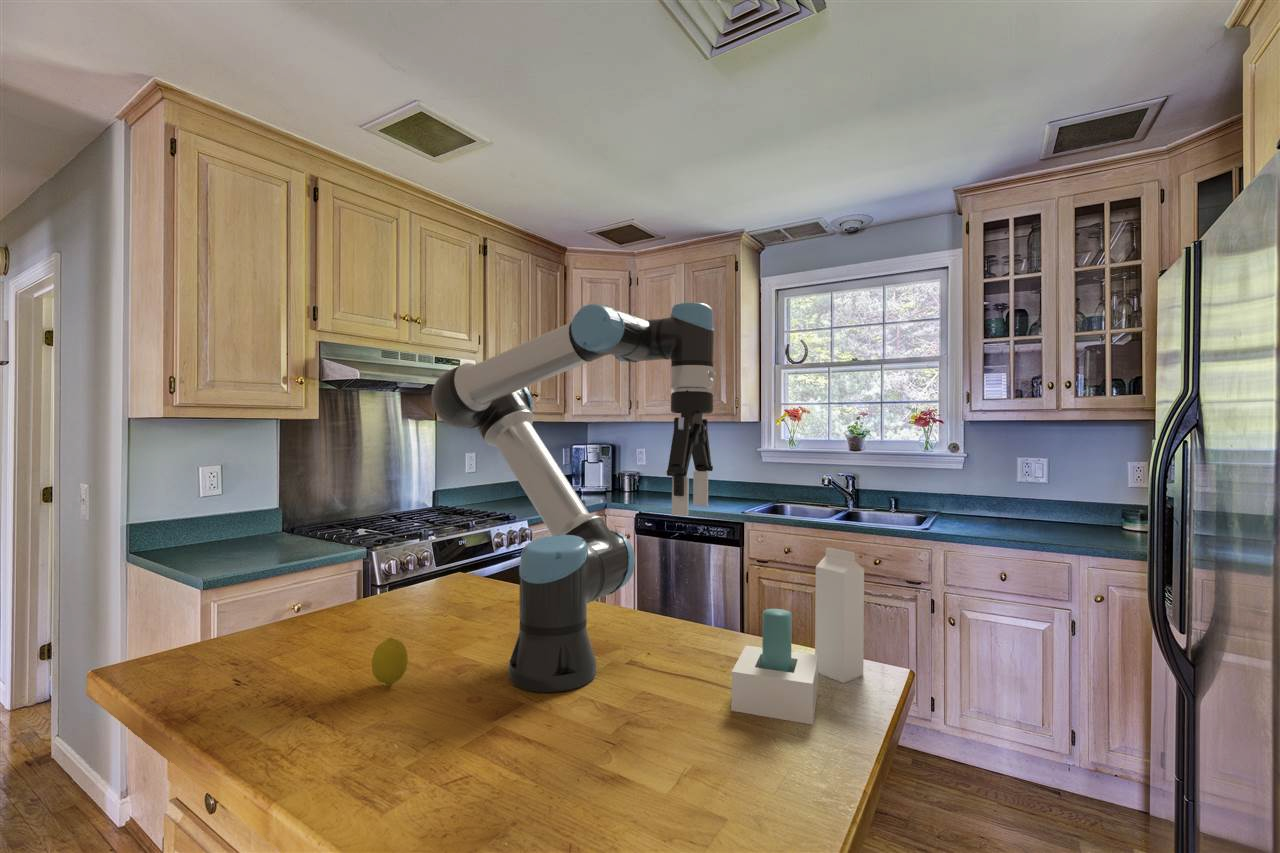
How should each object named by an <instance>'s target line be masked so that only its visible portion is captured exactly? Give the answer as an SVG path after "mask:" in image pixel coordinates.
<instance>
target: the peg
mask: <svg viewBox="0 0 1280 853" xmlns="http://www.w3.org/2000/svg"><path fill="white" fill-rule="evenodd" d="M792 619H793V617H792V612H790V611H788V610H786V609H782V608H781V609H780V608H766V609H764V610H763V611H762V643H761V644H762V647H761V648H762V668H763V669H770V670H777V671H784V672H791V652H792V627H793V626H792V623H793V622H792Z"/></svg>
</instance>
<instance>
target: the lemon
mask: <svg viewBox="0 0 1280 853" xmlns="http://www.w3.org/2000/svg"><path fill="white" fill-rule="evenodd" d="M408 661H409V660H408V651H407V648H406V646H405V645H404V643H403V642H402V641H401V640H398V639H396V638H393V637H388V638H386V639H385V640H383V641H382V642H381V643H379V644H378V645H377V646H376V648H375V649H374V652H373V654H372V658H371V671H372V675H373V676H374V678H375V680H377V681H378V682H379V683H382V684H385V685H386V686H387V687H391V686H393V684H394V683H395V682H396V683H397V681H399V680H400V679H401V678H403V676H404V674H406V671H407V669H408V668H407V667H408V663H409V662H408Z"/></svg>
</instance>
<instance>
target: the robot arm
mask: <svg viewBox="0 0 1280 853" xmlns="http://www.w3.org/2000/svg"><path fill="white" fill-rule="evenodd" d="M714 333H715V326H714V311H713V308H712V307H711V306H710V305H708V304H707V303H704V302H692V301H691V302H681V303H678V304H674V305H673V306H672V308H671V312H670V317H669V316H668V317H666V318H656V319H654V318H653V319H644V318H640V317H638V316H634V315H632V314H628V313H626V312H623V311H620V310H618V309H614V308H613V307H611V306H608V305H601V304H597V303H596V304H595V303H592V304H589V303H588V304H586V305H584V306H582V307H580V308H579V310H578V311H577V313H575V315H574V316H573V318H572V321H571V322H569V323H568V322H567V324H564V325H562V326H560V327H557V328H555V329H552V330H550V331H548V332H546V333H544V334H541V335H539V336H537V337H534V338H533V339H531V340H528V341H526V342H524V343H521V344H519V345H517V346H514V347H513V348H509V349H508V350H505V351H503V352H501V353H498V354H497V355H494V356H492V357H489V358H486V359H485V360H482V361H481V362H478V363H475V364H474V363H473V362H472V363H471V362H466V363H462V364H460V365H459V366H456V367H453V368H451V369H450V370H448V371H446V372H445V373H443V374H442V375H440V376H439V378H438V379H437V380H436V382H435V383H434V384H433V388H432V390H431V396H430V397H431V405H432V408H433V410H434V412H435V414H436V415H437V416H438V418H439V419H440V420H442V421H443V423H446V424H448V425H449V426H452V427H453V428H454V427H455V428H458V429H461V428H462V429H475V430H478V432H479V434H480V435H481V437H482V439H483V440H484V442H485V443H486V444H487V445H488V446H490V447H491V446H492V447H497V449H498V450H499V453H500V454H501V456H502V457H503V459H504V460H505V462H506V464H507V465H508V467H509V469H510V470H511V472H512V473H513V475H514V476H515V478H516V480H517V481H518V482H519V484H520V486H521V489H523V491H524V493H525V494H526V497H528V499H529V500H530V502H531V504H532V505H533V507H534V508H535V510H536V512H537V513H538V515H539V517H540V518H541V520H542V521H543V523H544V526H546V529H547V530H548V531H549V533H550V534H551V536H544V537H540V538H537V539H534V540H532V541H530V542H529V543H527V544H526V545H525V546H524V547H523V548H522V550H521V553H520V562H519V566H518V574H519V632H518V636H517V638H516V642H515V644H514V648H513V650H512V653H511V656H510V660H509V663H508V679H509V682H510V683H511V684H512V685H513V686H515V687H517V688H519V689H522V690H525V691H529V692H534V693H535V692H536V693H559V692H565V691H571V690H574V689H578V688H581V687H583V686H585V685H587V684H589V683H590V682H591V681H593V680H594V679H595V677H596V674H597V661H596V660H597V659H596V655H595V653H594V650H593V647H592V643H591V639H590V636H589V633H588V629H587V613H588V612H587V609H588V608H587V605H588V604H589V603H591V602H593V601H595V600H597V599H601V598H603V597H605V596H608V595H613V594H614V593H616V592H617V591H618V590H619V589H621V588H623V587H624V586H625V585H627V584H628V582H629V581H630V580H631V578H632V576H633V573H634V570H635V563H636V556H635V551H634V548H633V546H632V543H631V542H630V540H629V539H628V538H627V537H626V536H625V534H622V533H620V532H618V531H615V530H610V529H609V527H608V526H607V523H605V521H604V520H603V518H602V517H601V516H600V515H595V514H591V513H590V512H589V511H588V509H587V508H586V506H585V504H584V503H583V502H582V500H581V498H580V497H579V496H578V495H579V494H577V492H576V491H575V489H574V487H573V486H572V484H571V483H570V482H569V480H568V478H567V477H566V475H565V474H564V472H563V471H562V469H561V468H560V466H559V465H558V463H557V461H556V460H555V459H554V458H555V457H553V455H552V454H551V452H550V451H549V449H548V448H547V446H546V444H545V443H544V441H543V440H542V439H541V437H540V436H539V434H538V432H537V431H536V429H535V428H534V426H533V422H534V419H535V416H534V413H533V409H534V408H533V407H534V406H532V404H533V398H532V395H531V392H530V390H529V389H528V387H530V386H533V385H535V384H538V383H540V382H543V381H545V380H547V379H551V378H552V377H555V376H557V375H560V374H562V373H565V372H567V371H570V370H573V369H575V368H577V367H579V366H582V365H585V364H587V363H589V362H593V361H596V360H598V359H600V358H602V357H606V356H609V355H611V356H614V358H615V360H617V361H619V362H628V363H629V362H631V363H638V362H647V361H659V360H660V361H661V360H670V365H671V366H670V389H672V390H673V392H671V394H670V411H671V413H673V414H680V417H674V420H673V431H672V432H673V434H672V438H671V439H672V440H671V445H670V446H671V447H670V451H669V452H670V453H669V459H668V465H667V470H666V476H667V477H671V515H672V516H681V517H683V516H684V517H687V516H690V515H689V514H690V513H689V512H690V511H689V509H690V508H689V506H690V502H689V500H690V499H689V498H690V494H689V493H690V476H688V471H689V467H690V462H691V457H692V461H693V466H694V469H695V470H694V471H693V473H692V476H693V478H692V479H693V480H692V481H693V483H692V485H693V486H692V489H693V490H692V494H693V495H692V500H693V501H692V505H693V507H708V506H709V472H713V470H714V466H713V465H712V459H711V449H710V441H709V433H708V432H709V430H708V423H709V422H708V418H703V415H704V414H705V415H706V414H711V413H713V411H714V394H713V393H712V392H710V390H713V388H714V378H716V377H717V373H716V372H715V371H714V339H715V337H714V335H715V334H714Z"/></svg>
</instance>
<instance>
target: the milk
mask: <svg viewBox="0 0 1280 853" xmlns="http://www.w3.org/2000/svg"><path fill="white" fill-rule="evenodd" d="M814 601H815V604H814V605H815V612H814V614H815V615H814V616H815V617H814V618H815V619H814V623H815V624H814V625H815V626H814V630H815V631H814V633H815V634H814V637H815V638H814V643H815V644H814V655H818V675H821V676H824V677H827V678H829V679H831V680H833V681H834V680H835V681H837V682H840V683H842V684H845V683H847V682H850V681H852V680H854V679H857V678H860V677H862V676H864V658H865V657H864V650H865V648H864V645H865V644H864V637H865V636H864V635H865V634H864V632H865V631H864V630H865V629H864V628H865V626H864V625H865V624H864V623H865V619H864V618H865V616H864V615H865V568H864V567H863V566H861V564H859V563H858V562H856V554H855V552H853V551H847V550H843V549H836V548H832V547H826V548H825V556H824V557H823V558H822V559H821V560H820V561H819V562H818V563H817V565H816V566H815V600H814Z"/></svg>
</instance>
